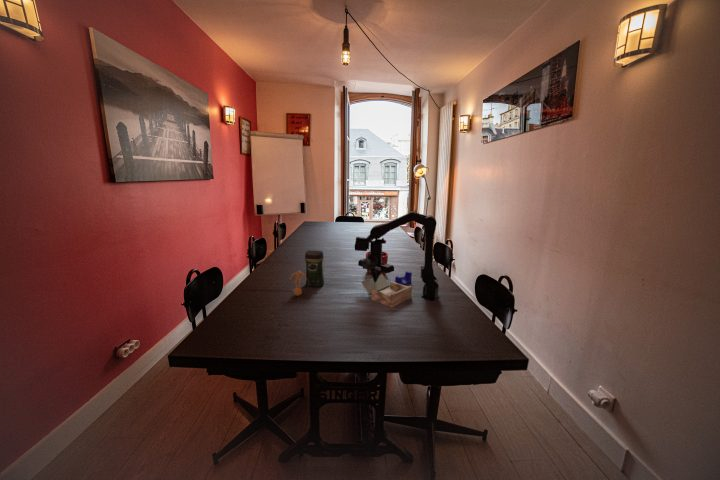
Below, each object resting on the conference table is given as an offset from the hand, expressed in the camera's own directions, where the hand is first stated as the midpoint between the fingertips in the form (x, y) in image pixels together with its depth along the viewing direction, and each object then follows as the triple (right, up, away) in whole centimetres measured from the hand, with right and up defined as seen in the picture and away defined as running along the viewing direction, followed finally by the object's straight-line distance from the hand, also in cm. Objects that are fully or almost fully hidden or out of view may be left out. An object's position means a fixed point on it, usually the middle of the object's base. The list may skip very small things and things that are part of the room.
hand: (375, 282), depth 147 cm
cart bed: (+7, -7, -5) cm, 11 cm away
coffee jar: (-32, -3, +10) cm, 33 cm away
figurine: (-38, -6, -3) cm, 38 cm away
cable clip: (+15, -3, +13) cm, 21 cm away
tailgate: (+2, -4, -1) cm, 4 cm away
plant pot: (+2, +1, +31) cm, 31 cm away
